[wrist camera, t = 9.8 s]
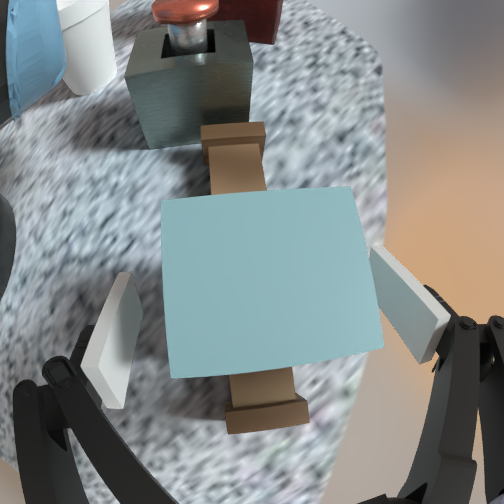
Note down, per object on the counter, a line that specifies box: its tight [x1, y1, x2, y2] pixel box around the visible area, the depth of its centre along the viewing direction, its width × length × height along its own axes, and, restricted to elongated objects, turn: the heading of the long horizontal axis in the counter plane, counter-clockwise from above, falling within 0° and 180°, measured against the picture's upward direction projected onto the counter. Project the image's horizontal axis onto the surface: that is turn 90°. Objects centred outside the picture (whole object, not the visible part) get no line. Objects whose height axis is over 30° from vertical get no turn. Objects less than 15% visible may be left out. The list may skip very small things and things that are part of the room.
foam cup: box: [56, 0, 117, 95], centre depth 22 cm, size 10×9×13 cm
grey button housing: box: [124, 20, 253, 149], centre depth 22 cm, size 7×9×9 cm
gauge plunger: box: [152, 0, 219, 57], centre depth 17 cm, size 5×5×6 cm
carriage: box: [161, 187, 384, 379], centre depth 15 cm, size 6×7×12 cm
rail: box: [201, 122, 310, 434], centre depth 21 cm, size 22×5×4 cm, turn 7°
